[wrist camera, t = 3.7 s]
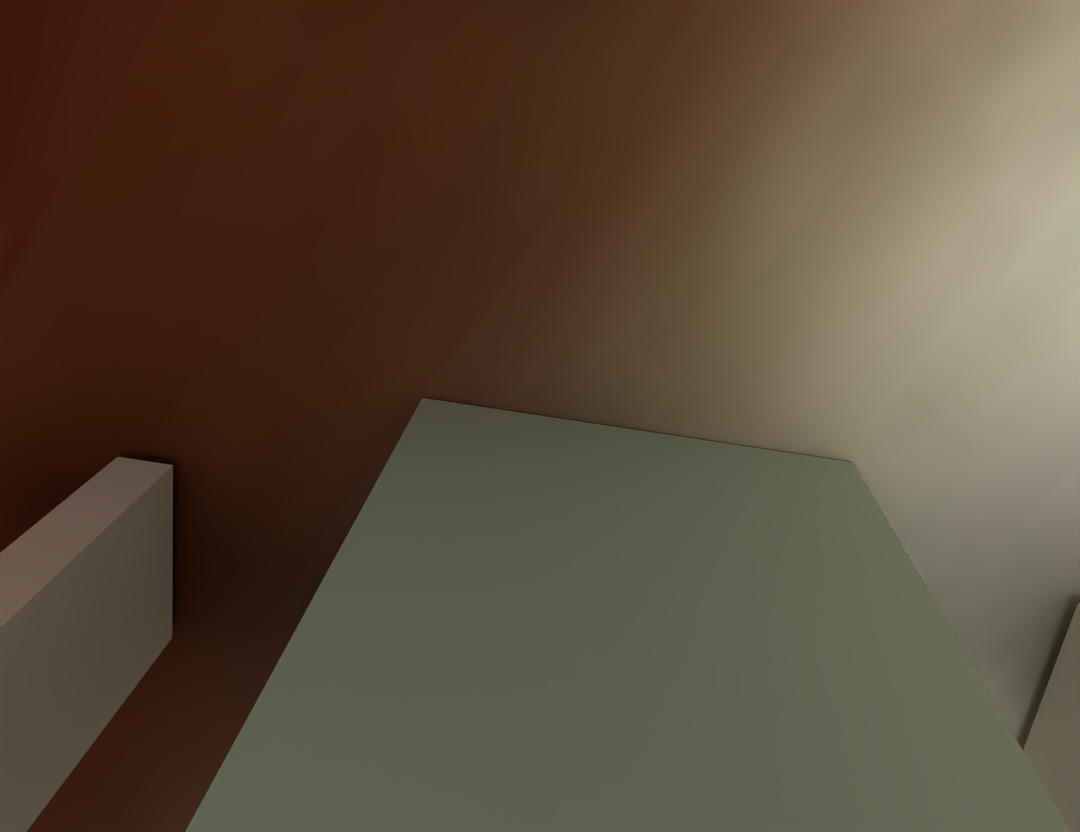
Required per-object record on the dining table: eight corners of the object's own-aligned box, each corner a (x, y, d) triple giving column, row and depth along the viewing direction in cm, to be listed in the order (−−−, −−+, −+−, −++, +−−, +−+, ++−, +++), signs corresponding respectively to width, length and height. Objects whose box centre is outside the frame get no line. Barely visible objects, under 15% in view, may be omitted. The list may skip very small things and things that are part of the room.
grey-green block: (387, 749, 15) (176, 1409, 8) (421, 397, 13) (180, 838, 6) (760, 807, 15) (904, 1530, 8) (853, 461, 13) (1165, 993, 6)
